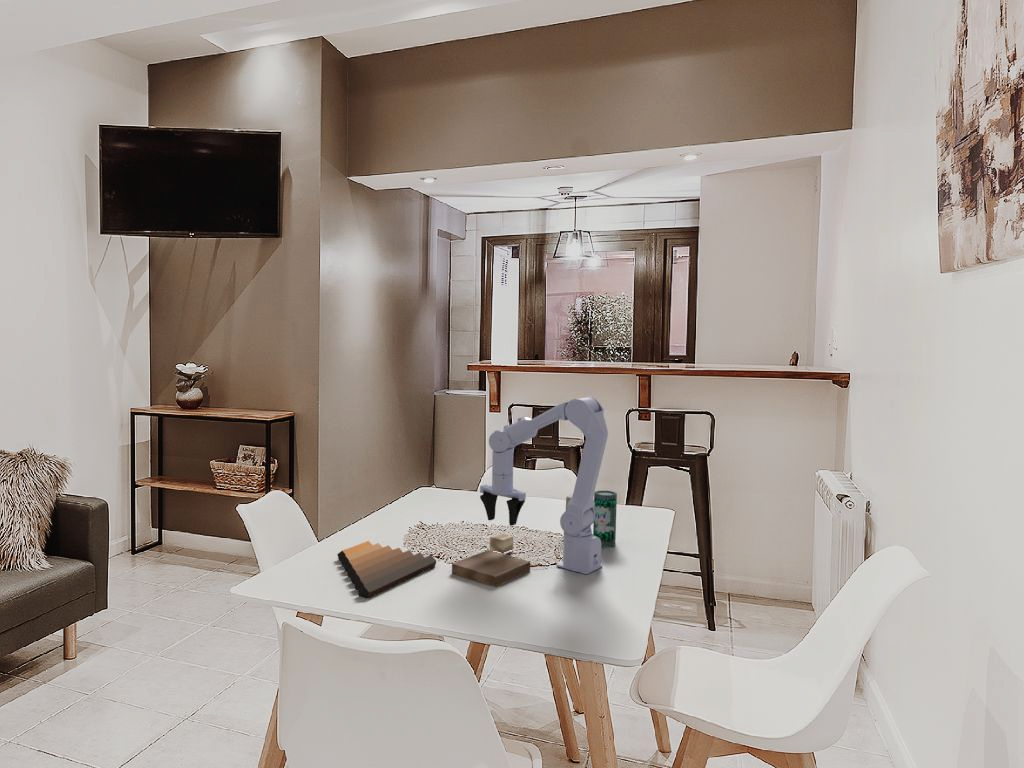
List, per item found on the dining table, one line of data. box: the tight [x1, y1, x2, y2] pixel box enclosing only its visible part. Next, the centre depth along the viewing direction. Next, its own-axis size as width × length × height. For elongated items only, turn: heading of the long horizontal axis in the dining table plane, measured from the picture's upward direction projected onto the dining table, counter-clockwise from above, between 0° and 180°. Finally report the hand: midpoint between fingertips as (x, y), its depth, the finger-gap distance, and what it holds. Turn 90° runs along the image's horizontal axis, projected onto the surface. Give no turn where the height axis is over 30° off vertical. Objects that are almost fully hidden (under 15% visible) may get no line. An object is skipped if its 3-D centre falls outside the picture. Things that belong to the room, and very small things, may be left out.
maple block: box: [489, 532, 514, 553], centre depth 184 cm, size 4×4×4 cm
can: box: [592, 490, 618, 549], centre depth 192 cm, size 6×6×15 cm
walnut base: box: [451, 549, 531, 588], centre depth 168 cm, size 14×14×2 cm
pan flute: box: [336, 540, 437, 599], centre depth 167 cm, size 25×3×25 cm
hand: (501, 522), depth 183 cm, fingers open, 7 cm apart
